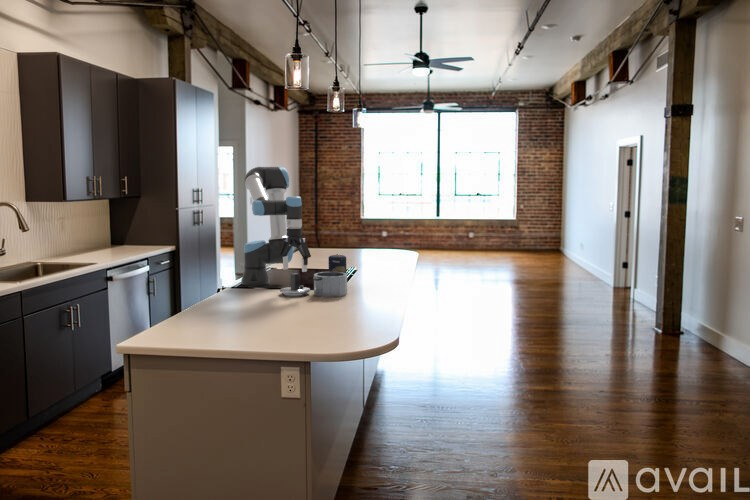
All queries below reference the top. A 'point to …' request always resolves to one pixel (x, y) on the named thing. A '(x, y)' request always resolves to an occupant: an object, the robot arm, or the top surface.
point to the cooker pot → (330, 284)
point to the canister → (337, 263)
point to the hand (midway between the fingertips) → (294, 270)
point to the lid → (295, 287)
